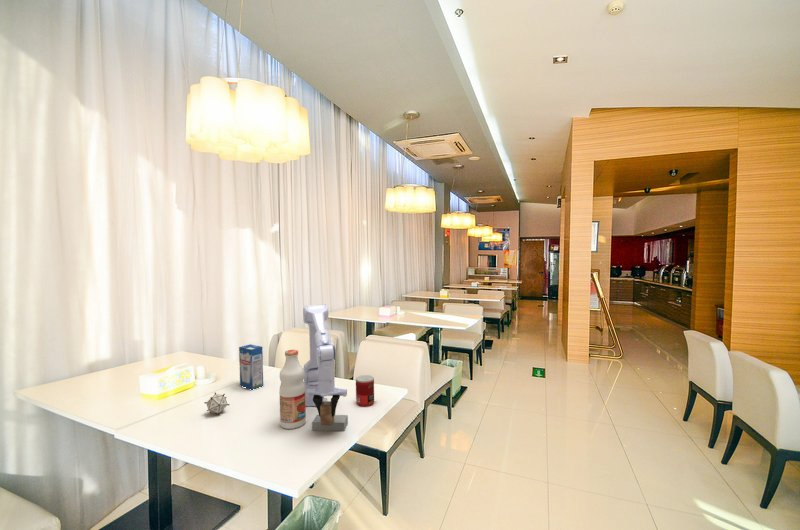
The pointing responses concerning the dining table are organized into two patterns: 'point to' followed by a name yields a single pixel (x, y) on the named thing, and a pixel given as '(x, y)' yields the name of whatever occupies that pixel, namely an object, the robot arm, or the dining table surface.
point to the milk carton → (251, 366)
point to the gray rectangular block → (337, 425)
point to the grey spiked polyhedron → (216, 403)
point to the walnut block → (326, 413)
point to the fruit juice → (292, 392)
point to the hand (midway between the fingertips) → (327, 415)
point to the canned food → (365, 390)
